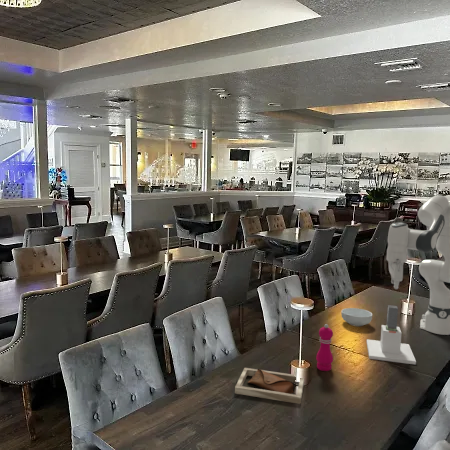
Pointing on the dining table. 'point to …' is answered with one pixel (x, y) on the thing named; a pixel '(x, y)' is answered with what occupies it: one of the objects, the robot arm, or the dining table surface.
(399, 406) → the dining table surface
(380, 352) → the stand housing
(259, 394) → the birch tray rim
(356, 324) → the cereal bowl
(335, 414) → the dining table surface
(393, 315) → the jack column
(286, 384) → the sunglasses case
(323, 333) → the pepper mill
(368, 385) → the dining table surface
